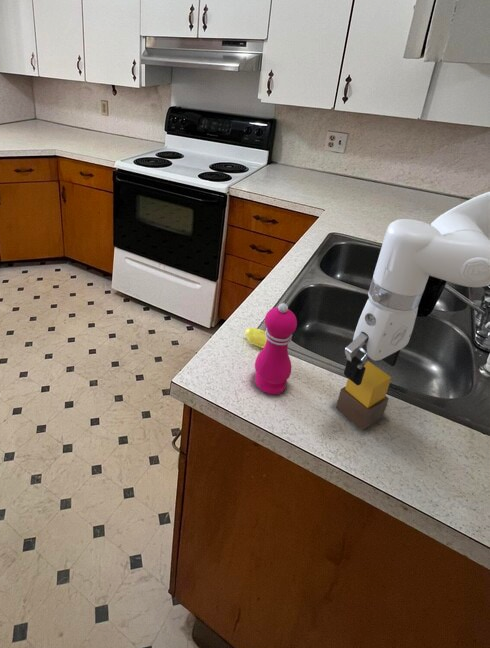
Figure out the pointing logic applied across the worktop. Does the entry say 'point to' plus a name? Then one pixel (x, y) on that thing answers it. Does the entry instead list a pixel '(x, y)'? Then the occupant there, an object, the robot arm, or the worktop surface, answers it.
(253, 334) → the lemon
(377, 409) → the walnut block
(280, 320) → the pepper mill
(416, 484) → the worktop surface
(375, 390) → the mustard block
